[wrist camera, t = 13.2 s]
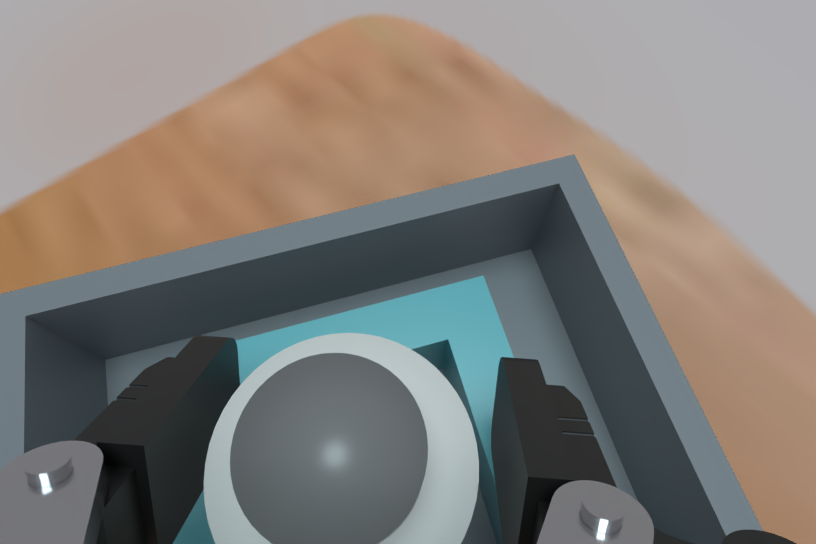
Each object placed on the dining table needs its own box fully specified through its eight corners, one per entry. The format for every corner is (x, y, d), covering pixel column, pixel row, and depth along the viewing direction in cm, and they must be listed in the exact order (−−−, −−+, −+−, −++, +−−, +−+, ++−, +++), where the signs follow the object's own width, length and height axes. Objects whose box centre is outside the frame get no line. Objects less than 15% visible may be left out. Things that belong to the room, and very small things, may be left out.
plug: (318, 598, 15) (178, 698, 6) (291, 447, 16) (149, 337, 7) (461, 553, 15) (543, 578, 6) (421, 411, 17) (439, 266, 8)
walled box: (119, 906, 13) (-37, 1108, 8) (94, 352, 19) (-8, 295, 14) (731, 682, 15) (872, 750, 10) (538, 237, 20) (574, 154, 16)
